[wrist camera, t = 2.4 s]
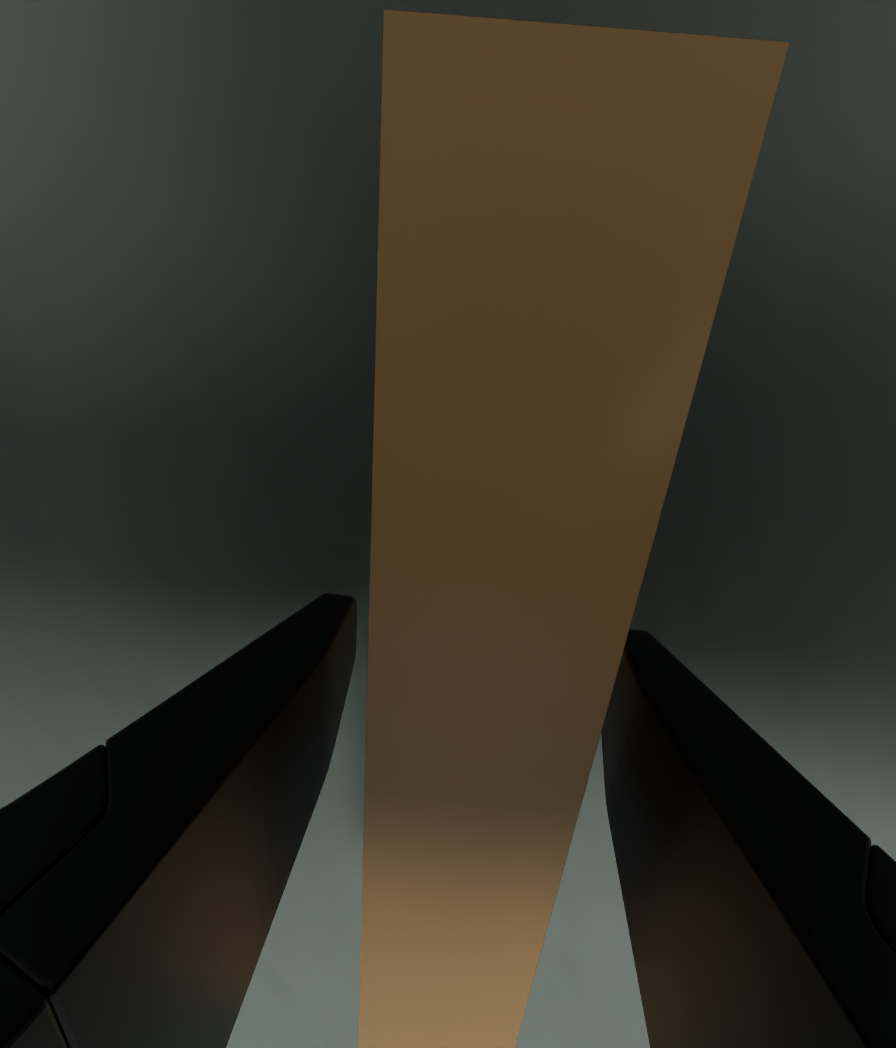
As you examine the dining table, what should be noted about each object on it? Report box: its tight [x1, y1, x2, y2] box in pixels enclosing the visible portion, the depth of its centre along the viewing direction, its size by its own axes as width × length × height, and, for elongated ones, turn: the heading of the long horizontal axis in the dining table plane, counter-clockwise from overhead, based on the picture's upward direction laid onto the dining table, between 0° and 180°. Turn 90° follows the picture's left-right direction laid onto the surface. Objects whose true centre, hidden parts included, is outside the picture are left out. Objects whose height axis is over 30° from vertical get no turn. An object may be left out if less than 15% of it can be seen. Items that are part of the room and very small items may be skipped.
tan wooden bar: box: [359, 9, 790, 1048], centre depth 8 cm, size 12×2×4 cm, turn 175°
